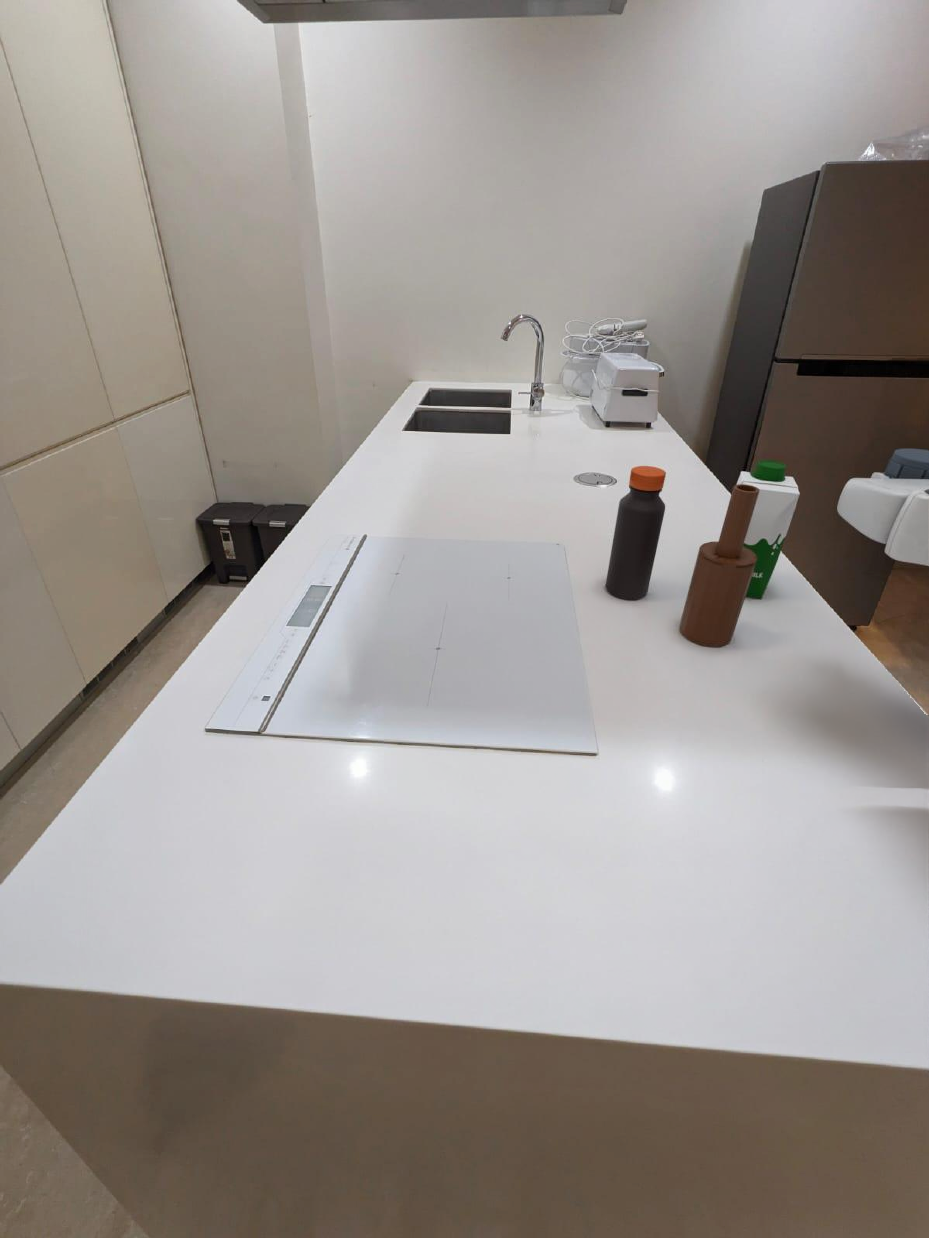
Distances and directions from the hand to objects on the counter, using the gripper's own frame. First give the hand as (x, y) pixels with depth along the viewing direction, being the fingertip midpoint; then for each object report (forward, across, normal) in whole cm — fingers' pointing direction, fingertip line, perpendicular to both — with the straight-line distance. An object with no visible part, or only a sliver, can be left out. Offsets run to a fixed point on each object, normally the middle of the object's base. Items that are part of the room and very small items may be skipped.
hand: (906, 479), depth 64 cm
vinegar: (+20, +23, +26) cm, 40 cm away
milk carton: (+22, +4, +26) cm, 34 cm away
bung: (-1, 0, +5) cm, 5 cm away
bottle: (+7, +14, +26) cm, 30 cm away
